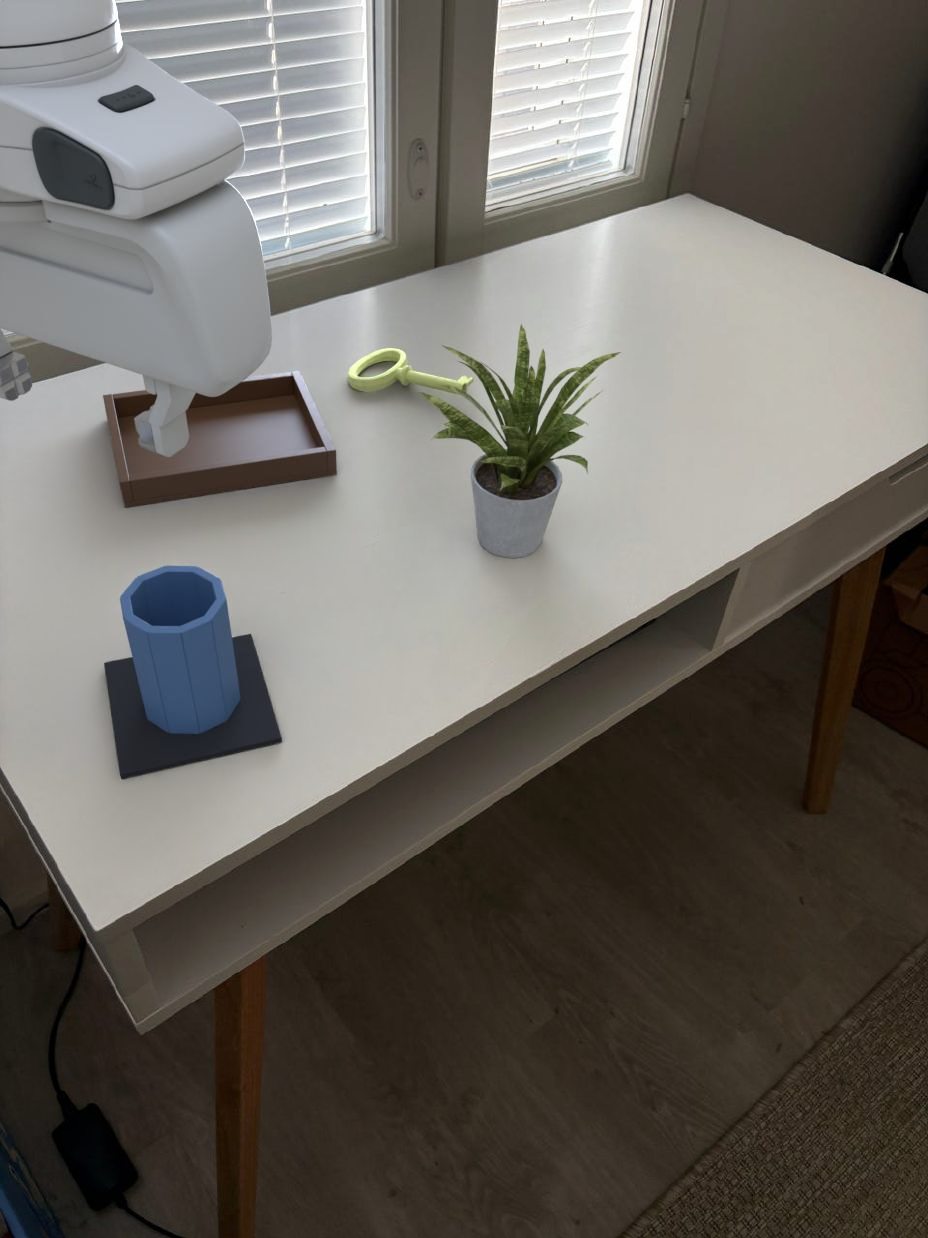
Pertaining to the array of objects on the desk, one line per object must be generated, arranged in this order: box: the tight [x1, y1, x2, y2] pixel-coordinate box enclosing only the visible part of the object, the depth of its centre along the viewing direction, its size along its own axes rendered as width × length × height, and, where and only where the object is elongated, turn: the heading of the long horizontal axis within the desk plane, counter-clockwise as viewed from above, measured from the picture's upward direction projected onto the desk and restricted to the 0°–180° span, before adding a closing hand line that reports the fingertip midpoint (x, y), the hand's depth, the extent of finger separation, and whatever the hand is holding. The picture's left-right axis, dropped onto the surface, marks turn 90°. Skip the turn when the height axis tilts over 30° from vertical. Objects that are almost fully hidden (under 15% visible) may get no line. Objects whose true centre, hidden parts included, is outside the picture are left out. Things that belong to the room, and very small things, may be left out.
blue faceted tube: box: [119, 564, 240, 734], centre depth 63 cm, size 6×6×9 cm
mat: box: [103, 633, 283, 780], centre depth 67 cm, size 10×10×1 cm
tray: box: [102, 370, 338, 508], centre depth 88 cm, size 18×14×2 cm
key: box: [347, 347, 475, 396], centre depth 98 cm, size 7×12×2 cm, turn 80°
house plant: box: [418, 323, 623, 559], centre depth 77 cm, size 14×14×16 cm
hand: (85, 419), depth 48 cm, fingers open, 8 cm apart
